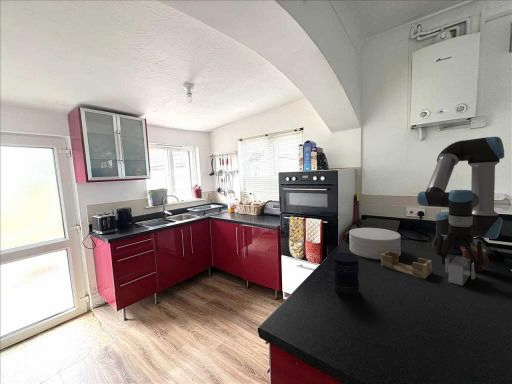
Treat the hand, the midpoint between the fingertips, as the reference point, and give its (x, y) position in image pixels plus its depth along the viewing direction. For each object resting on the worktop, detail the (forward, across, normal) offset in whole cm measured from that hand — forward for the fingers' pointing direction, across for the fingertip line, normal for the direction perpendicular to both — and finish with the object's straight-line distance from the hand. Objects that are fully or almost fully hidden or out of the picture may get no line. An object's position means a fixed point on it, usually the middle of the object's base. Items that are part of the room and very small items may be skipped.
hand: (459, 274), depth 94 cm
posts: (+2, -19, -6) cm, 20 cm away
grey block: (+2, 0, 0) cm, 2 cm away
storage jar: (+2, -27, -46) cm, 53 cm away
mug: (+2, +3, +15) cm, 15 cm away
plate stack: (+2, -41, +9) cm, 42 cm away
